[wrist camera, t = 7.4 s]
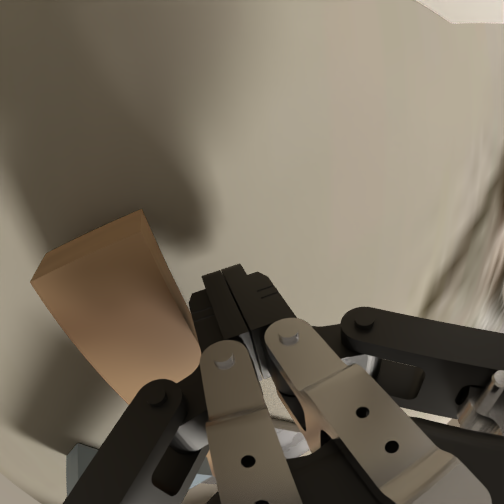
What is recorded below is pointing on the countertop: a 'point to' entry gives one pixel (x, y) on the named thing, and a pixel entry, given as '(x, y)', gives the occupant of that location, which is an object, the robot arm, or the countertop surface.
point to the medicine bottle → (467, 10)
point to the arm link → (121, 306)
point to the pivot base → (284, 442)
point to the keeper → (84, 455)
